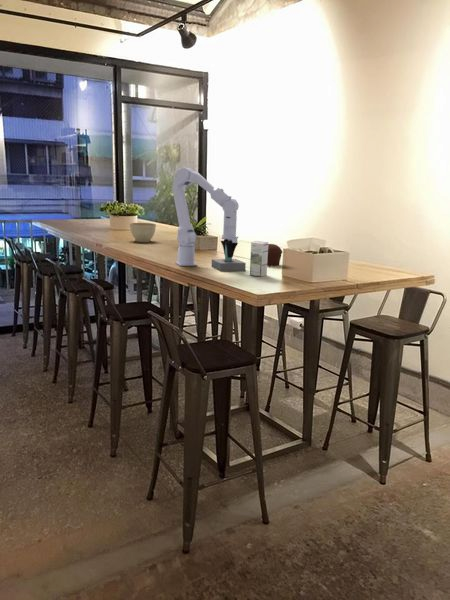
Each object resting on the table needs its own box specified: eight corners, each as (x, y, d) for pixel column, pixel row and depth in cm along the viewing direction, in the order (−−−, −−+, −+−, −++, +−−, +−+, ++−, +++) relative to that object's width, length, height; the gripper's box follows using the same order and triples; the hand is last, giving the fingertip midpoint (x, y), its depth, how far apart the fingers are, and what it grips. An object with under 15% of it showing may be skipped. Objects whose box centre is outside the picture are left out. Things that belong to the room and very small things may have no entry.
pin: (223, 261, 238) (224, 244, 236) (230, 261, 240) (230, 244, 238) (226, 262, 235) (227, 245, 234) (233, 262, 237) (233, 244, 235)
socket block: (211, 266, 242) (211, 259, 241) (235, 266, 246) (235, 258, 245) (220, 271, 231) (220, 263, 230) (245, 270, 235) (245, 262, 234)
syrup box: (267, 275, 225) (269, 241, 222) (261, 277, 220) (262, 243, 217) (255, 273, 228) (257, 240, 225) (249, 275, 223) (250, 241, 220)
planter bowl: (125, 241, 320) (125, 223, 318) (136, 239, 335) (136, 222, 333) (149, 243, 316) (149, 225, 313) (159, 241, 331) (160, 223, 328)
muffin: (255, 262, 258) (256, 242, 256) (276, 262, 261) (278, 242, 259) (263, 266, 247) (264, 245, 245) (285, 266, 250) (286, 246, 248)
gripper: (244, 228, 229) (242, 259, 232) (232, 225, 242) (231, 254, 245) (229, 228, 226) (228, 259, 229) (218, 225, 239) (217, 254, 242)
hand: (228, 256), depth 237 cm, fingers closed on pin, 3 cm apart
